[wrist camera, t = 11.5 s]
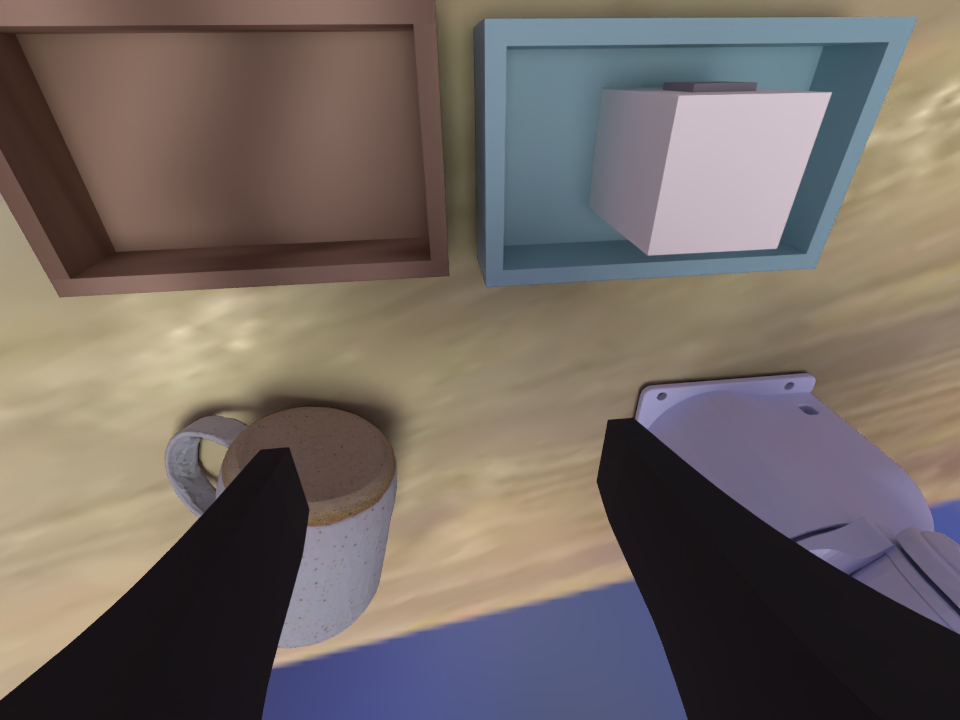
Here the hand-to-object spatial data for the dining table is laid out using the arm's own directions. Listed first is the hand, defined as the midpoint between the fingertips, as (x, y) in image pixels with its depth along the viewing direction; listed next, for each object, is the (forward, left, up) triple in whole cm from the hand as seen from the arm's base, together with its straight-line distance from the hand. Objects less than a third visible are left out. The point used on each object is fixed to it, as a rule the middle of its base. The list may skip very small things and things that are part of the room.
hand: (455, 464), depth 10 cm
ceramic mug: (+8, +9, -11) cm, 16 cm away
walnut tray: (+6, -6, -10) cm, 13 cm away
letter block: (-8, -5, -10) cm, 14 cm away
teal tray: (-8, -5, -10) cm, 14 cm away
